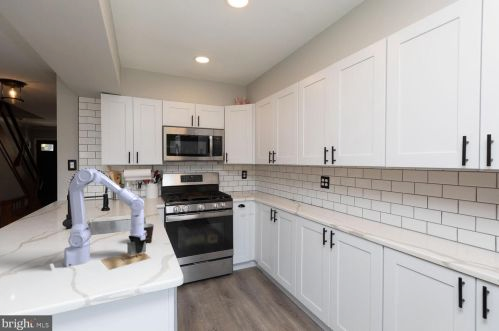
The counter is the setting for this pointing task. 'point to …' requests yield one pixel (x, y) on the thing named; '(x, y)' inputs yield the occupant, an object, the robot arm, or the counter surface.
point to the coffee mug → (148, 232)
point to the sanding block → (134, 249)
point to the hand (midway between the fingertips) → (137, 251)
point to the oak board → (123, 260)
